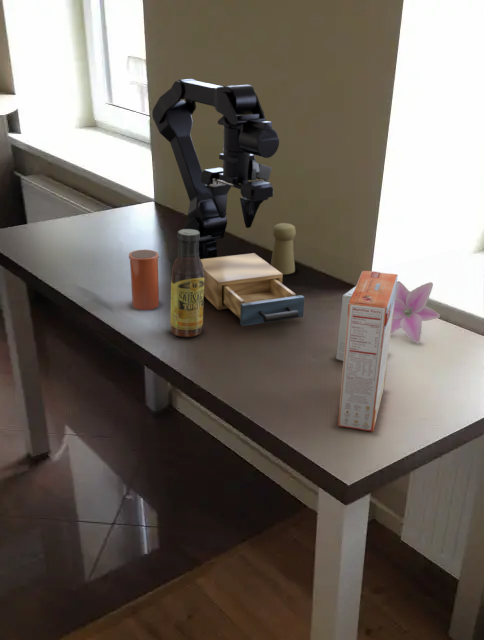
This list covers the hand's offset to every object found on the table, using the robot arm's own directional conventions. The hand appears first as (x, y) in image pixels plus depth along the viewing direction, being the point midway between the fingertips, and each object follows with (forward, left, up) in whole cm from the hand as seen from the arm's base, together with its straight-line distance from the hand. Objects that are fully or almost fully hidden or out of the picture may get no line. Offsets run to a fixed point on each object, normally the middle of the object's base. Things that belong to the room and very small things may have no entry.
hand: (235, 222), depth 164 cm
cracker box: (+59, -20, -13) cm, 64 cm away
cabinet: (+8, -5, -13) cm, 16 cm away
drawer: (+21, -9, -12) cm, 26 cm away
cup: (+2, -25, -13) cm, 28 cm away
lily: (+43, +9, -13) cm, 46 cm away
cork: (+2, +13, -13) cm, 19 cm away
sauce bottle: (+18, -26, -13) cm, 34 cm away
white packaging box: (+46, -6, -13) cm, 48 cm away
